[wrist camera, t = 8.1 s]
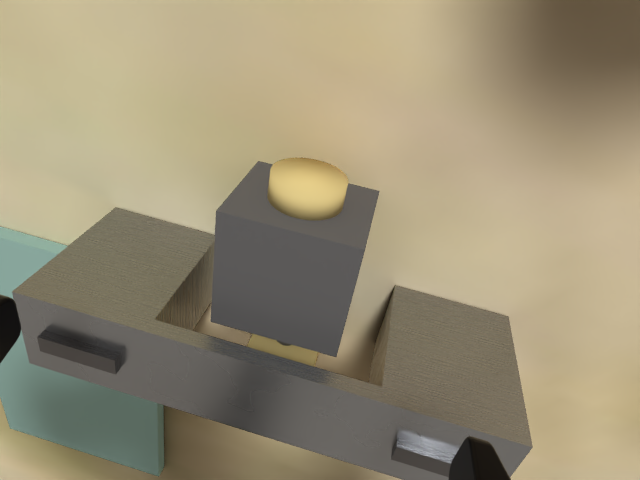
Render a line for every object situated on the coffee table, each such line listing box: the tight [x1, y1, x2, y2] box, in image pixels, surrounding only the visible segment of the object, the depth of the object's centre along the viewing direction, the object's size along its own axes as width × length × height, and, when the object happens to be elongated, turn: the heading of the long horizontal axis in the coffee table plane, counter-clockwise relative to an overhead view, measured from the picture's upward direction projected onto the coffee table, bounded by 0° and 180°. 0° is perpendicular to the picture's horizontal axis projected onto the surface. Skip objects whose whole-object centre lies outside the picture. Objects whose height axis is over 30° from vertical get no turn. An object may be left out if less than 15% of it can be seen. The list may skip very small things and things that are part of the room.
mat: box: [0, 227, 164, 476], centre depth 23 cm, size 14×9×1 cm, turn 169°
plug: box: [211, 158, 379, 367], centre depth 16 cm, size 9×4×4 cm, turn 169°
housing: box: [12, 208, 532, 480], centre depth 15 cm, size 3×15×5 cm, turn 79°
